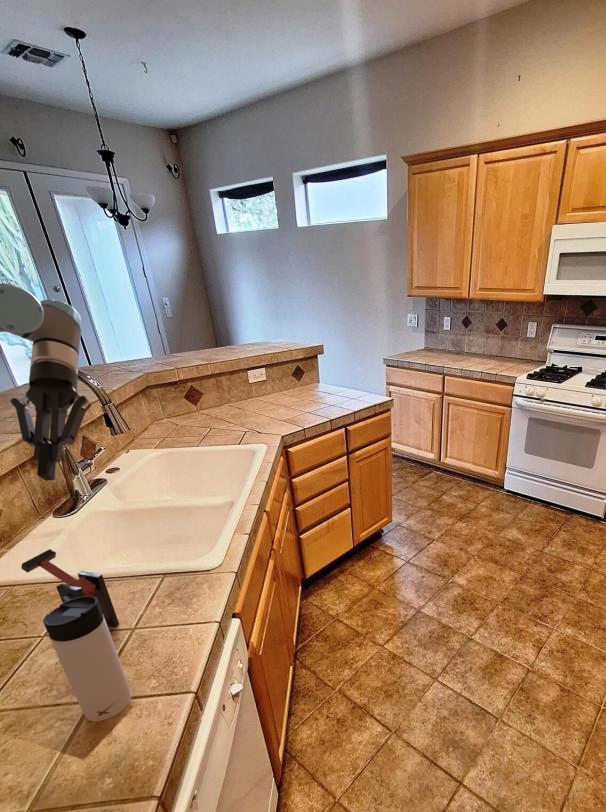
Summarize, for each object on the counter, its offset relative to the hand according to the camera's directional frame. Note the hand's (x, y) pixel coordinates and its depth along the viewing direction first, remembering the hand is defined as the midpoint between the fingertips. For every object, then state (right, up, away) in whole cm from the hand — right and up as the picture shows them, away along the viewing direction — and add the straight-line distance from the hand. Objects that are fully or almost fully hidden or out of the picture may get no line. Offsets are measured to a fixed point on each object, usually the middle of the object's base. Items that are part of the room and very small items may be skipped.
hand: (46, 477), depth 79 cm
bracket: (+10, -30, 0) cm, 31 cm away
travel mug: (+21, -37, -13) cm, 45 cm away
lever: (+6, -18, -4) cm, 20 cm away
